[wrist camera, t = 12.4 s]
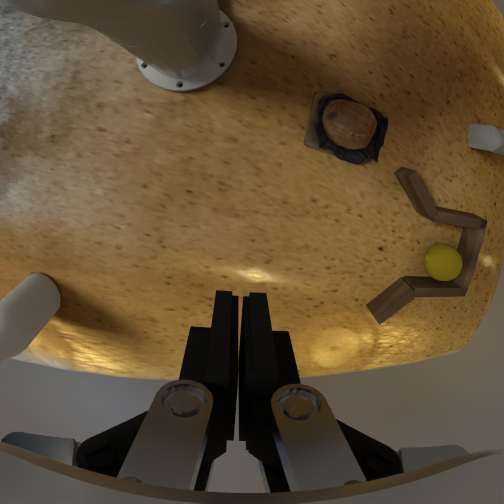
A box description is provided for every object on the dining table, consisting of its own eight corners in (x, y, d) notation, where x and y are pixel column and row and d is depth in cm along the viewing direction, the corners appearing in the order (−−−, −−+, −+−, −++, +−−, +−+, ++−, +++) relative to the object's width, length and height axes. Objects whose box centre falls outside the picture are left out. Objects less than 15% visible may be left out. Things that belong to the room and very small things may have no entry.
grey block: (493, 152, 36) (535, 162, 26) (467, 146, 36) (511, 154, 26) (494, 131, 34) (536, 137, 25) (467, 123, 34) (512, 127, 25)
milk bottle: (34, 262, 40) (-42, 328, 21) (68, 291, 42) (1, 371, 23) (23, 292, 42) (-42, 359, 23) (54, 319, 44) (-3, 396, 25)
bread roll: (300, 148, 36) (305, 149, 33) (314, 86, 33) (322, 82, 30) (374, 170, 38) (386, 174, 34) (388, 112, 35) (401, 111, 31)
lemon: (418, 237, 41) (452, 248, 42) (410, 272, 42) (444, 281, 43) (440, 240, 36) (474, 252, 37) (431, 279, 36) (465, 288, 37)
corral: (395, 165, 37) (409, 169, 33) (477, 185, 38) (493, 191, 34) (364, 310, 45) (373, 324, 41) (444, 308, 46) (455, 320, 42)
